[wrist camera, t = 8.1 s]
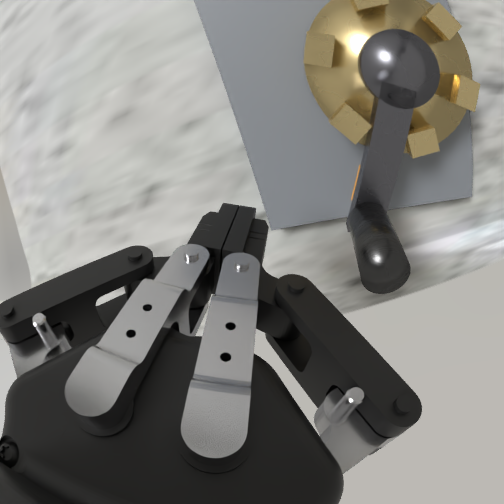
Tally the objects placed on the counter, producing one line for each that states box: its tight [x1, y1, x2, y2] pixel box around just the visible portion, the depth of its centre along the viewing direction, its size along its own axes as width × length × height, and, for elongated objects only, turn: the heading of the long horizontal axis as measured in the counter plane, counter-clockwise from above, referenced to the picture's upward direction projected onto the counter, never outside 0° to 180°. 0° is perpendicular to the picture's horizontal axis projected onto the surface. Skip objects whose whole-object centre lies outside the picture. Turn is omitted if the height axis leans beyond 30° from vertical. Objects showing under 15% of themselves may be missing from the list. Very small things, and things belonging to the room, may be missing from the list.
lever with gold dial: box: [303, 0, 480, 294], centre depth 12 cm, size 15×10×8 cm, turn 175°
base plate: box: [194, 0, 473, 230], centre depth 16 cm, size 16×20×2 cm
